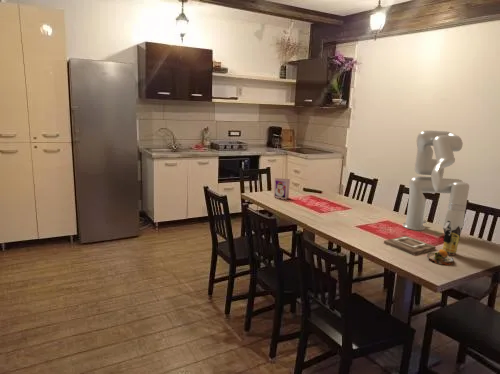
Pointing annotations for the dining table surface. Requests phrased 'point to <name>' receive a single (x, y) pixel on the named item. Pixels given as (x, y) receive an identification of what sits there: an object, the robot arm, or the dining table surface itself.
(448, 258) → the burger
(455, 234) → the sauce bottle
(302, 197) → the dining table surface
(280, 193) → the greeting card
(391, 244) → the walnut board
